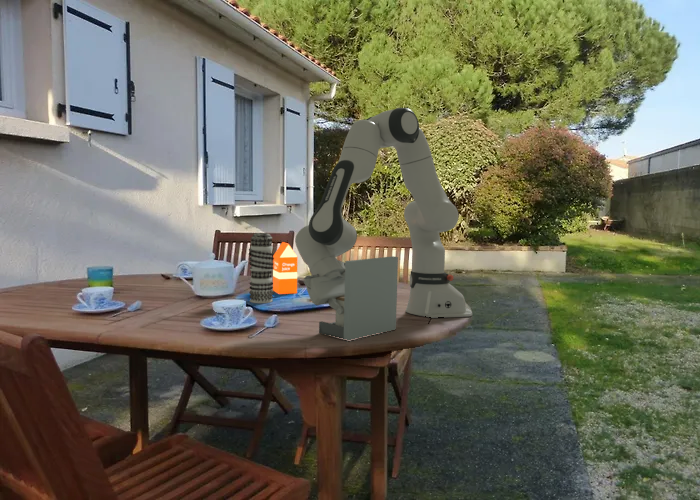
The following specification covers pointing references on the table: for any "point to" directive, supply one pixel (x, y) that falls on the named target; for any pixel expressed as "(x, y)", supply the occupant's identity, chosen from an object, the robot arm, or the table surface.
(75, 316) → the table surface
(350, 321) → the wall board
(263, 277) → the decorative candle
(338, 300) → the grey tea canister
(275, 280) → the orange juice
